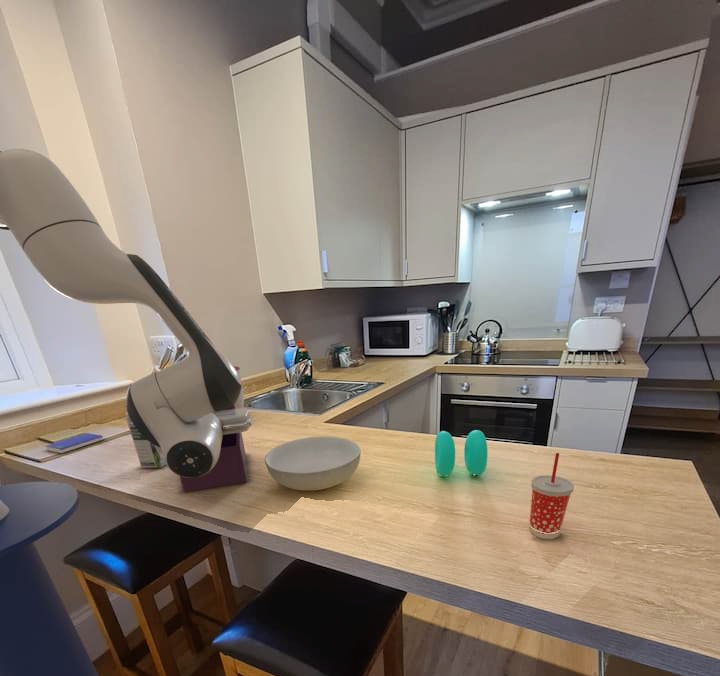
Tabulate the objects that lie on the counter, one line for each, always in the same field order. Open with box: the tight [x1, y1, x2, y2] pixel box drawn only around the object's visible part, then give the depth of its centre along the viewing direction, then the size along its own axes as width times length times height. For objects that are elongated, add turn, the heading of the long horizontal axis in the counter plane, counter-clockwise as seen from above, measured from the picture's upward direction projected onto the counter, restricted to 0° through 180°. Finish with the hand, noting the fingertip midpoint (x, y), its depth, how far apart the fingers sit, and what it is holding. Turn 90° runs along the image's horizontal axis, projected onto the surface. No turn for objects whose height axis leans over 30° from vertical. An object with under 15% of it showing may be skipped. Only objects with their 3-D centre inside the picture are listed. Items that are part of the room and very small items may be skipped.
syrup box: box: [124, 411, 167, 469], centre depth 100 cm, size 6×6×14 cm
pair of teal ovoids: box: [434, 429, 488, 478], centre depth 85 cm, size 10×10×10 cm
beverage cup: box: [528, 452, 575, 540], centre depth 62 cm, size 6×6×14 cm
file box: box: [179, 432, 248, 493], centre depth 94 cm, size 18×14×9 cm
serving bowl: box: [264, 436, 362, 492], centre depth 87 cm, size 21×21×7 cm
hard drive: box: [45, 432, 104, 454], centre depth 121 cm, size 2×8×12 cm
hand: (204, 414), depth 90 cm, fingers closed
